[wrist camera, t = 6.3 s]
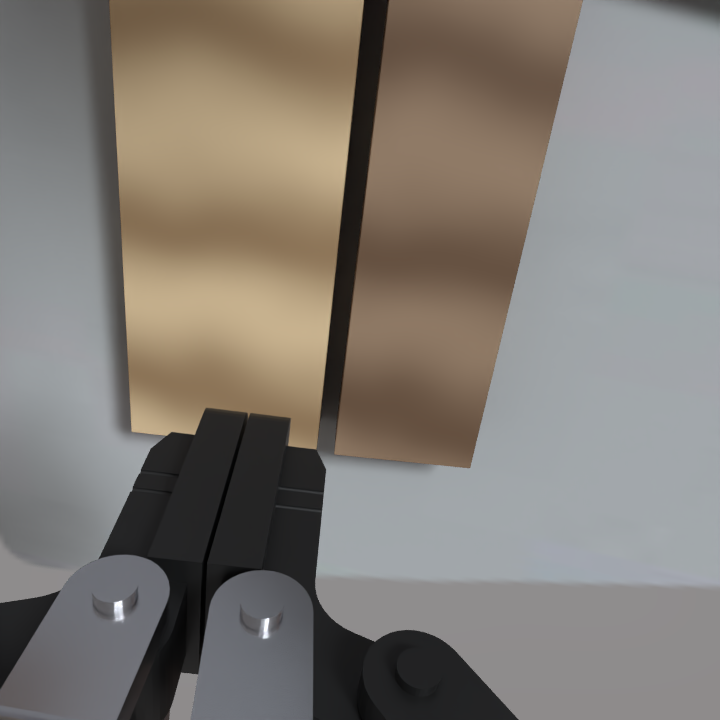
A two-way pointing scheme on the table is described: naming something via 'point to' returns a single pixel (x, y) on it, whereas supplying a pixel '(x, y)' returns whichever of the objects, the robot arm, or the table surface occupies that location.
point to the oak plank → (231, 202)
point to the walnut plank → (446, 217)
